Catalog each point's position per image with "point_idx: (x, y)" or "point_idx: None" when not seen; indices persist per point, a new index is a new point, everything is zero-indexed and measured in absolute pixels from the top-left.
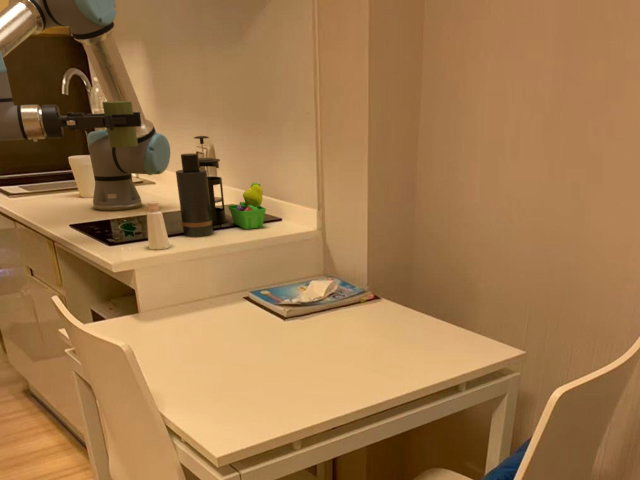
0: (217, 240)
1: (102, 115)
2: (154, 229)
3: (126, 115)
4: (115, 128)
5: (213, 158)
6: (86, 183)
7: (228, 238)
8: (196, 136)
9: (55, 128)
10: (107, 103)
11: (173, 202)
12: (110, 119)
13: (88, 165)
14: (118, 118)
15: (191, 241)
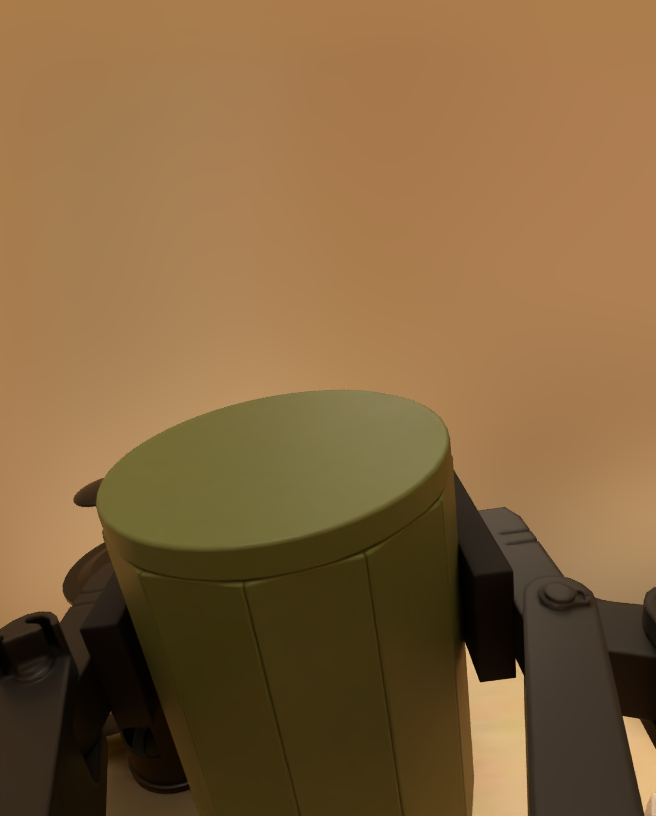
0: (499, 691)
1: (60, 787)
2: None
3: (462, 491)
4: (462, 684)
5: (103, 543)
6: None
7: (468, 662)
8: (92, 495)
9: None
10: (433, 483)
11: None
12: (603, 611)
13: None
14: (541, 547)
15: (523, 778)
